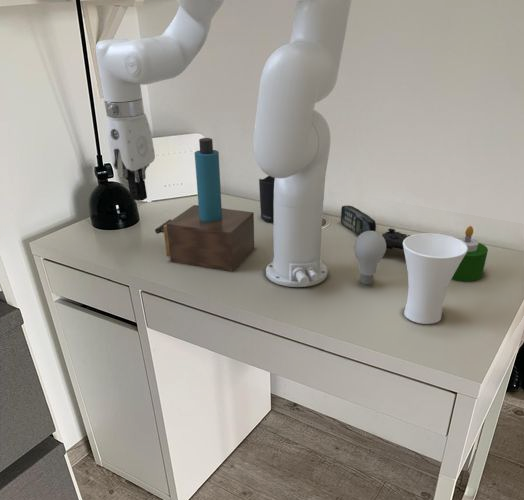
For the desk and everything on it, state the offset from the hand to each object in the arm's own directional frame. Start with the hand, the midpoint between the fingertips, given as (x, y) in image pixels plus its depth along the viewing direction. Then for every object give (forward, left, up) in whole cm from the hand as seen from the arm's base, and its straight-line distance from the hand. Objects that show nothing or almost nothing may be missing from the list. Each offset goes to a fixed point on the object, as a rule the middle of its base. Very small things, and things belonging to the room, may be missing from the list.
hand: (139, 198), depth 120 cm
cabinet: (-10, -14, -11) cm, 20 cm away
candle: (-32, -62, -11) cm, 71 cm away
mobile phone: (-6, -50, -11) cm, 52 cm away
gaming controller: (-22, -53, -11) cm, 59 cm away
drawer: (-8, -11, -10) cm, 17 cm away
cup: (-46, -46, -11) cm, 66 cm away
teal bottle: (-10, -14, -2) cm, 17 cm away
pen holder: (+9, -34, -11) cm, 37 cm away
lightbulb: (-32, -41, -11) cm, 53 cm away
